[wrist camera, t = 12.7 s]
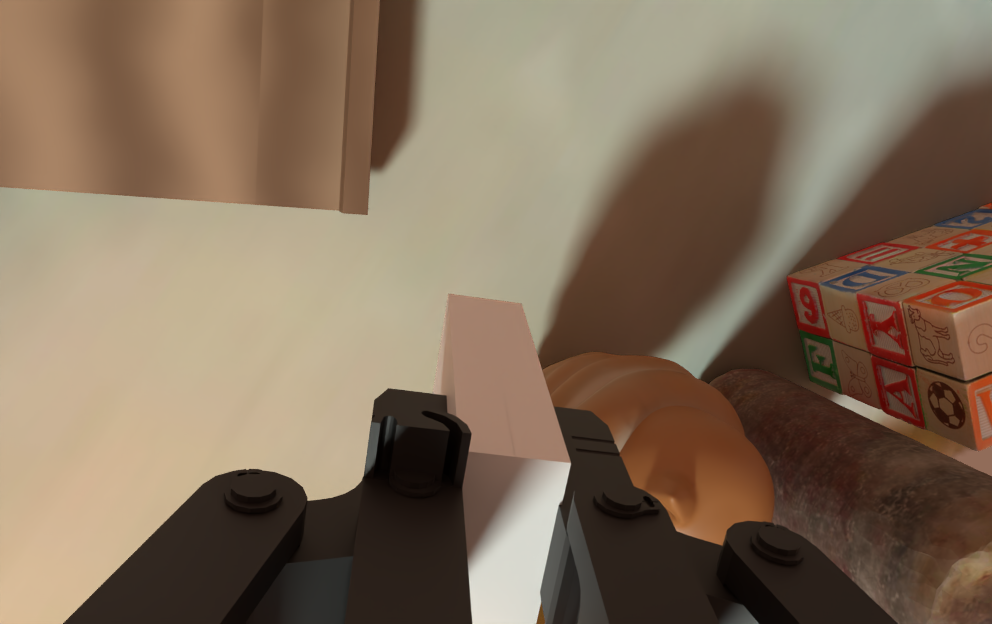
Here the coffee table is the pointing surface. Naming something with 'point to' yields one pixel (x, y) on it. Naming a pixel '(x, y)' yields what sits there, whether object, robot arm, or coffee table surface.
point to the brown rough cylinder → (872, 500)
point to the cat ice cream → (671, 438)
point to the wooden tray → (191, 99)
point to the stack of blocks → (908, 326)
